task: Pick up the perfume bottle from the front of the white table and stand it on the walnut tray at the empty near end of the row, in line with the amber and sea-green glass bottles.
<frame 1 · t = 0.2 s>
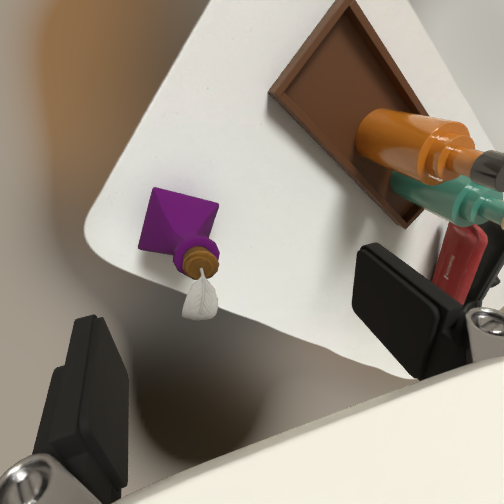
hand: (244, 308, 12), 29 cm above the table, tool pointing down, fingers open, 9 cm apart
perfume bottle: (175, 214, 40), on the table
hair straightener: (444, 288, 64), on the table
amber bottle: (376, 134, 42), resting on tray
sea-green bottle: (408, 174, 47), resting on tray
tray: (374, 134, 42), on the table
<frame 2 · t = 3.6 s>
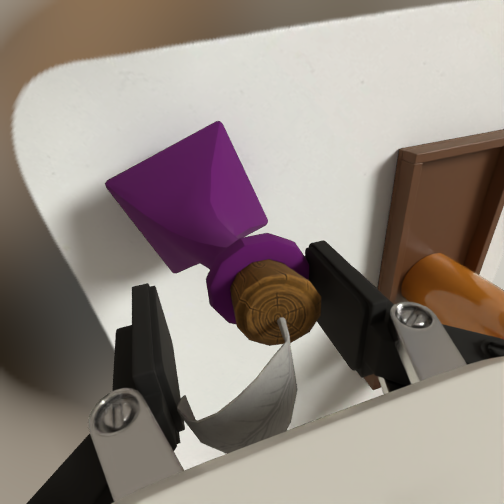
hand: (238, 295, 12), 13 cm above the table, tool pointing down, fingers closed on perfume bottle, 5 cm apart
perfume bottle: (188, 186, 23), on the table, touching gripper
amber bottle: (425, 278, 36), resting on tray
tray: (422, 275, 36), on the table
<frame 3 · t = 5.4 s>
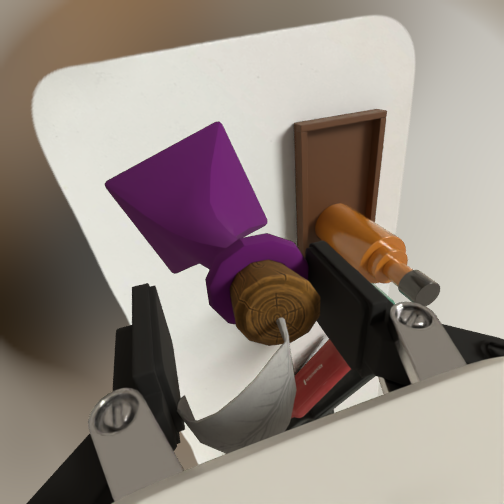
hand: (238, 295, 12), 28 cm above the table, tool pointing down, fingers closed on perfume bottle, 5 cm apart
perfume bottle: (188, 186, 23), point 15 cm above the table, touching gripper
hair straightener: (292, 396, 66), on the table
amber bottle: (334, 223, 47), resting on tray
tray: (332, 222, 48), on the table
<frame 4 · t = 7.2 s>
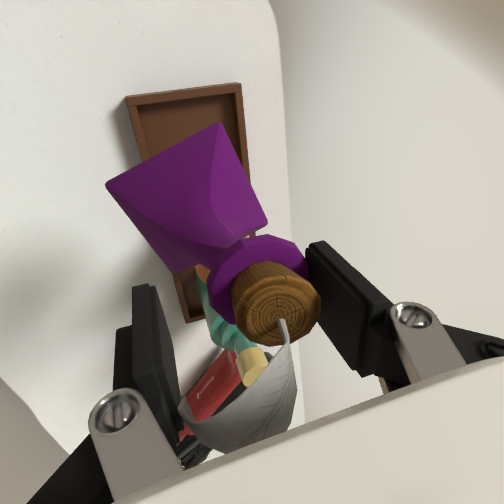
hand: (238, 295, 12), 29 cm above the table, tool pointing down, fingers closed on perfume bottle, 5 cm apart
perfume bottle: (188, 187, 23), point 16 cm above the table, touching gripper
hair straightener: (197, 409, 60), on the table
sea-green bottle: (217, 275, 46), resting on tray
tray: (206, 217, 42), on the table
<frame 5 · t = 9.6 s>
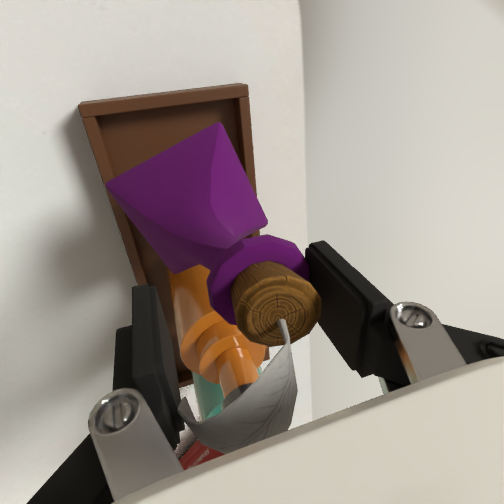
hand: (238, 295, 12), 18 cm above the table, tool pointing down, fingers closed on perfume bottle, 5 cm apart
perfume bottle: (188, 187, 23), point 5 cm above the table, touching gripper
hair straightener: (189, 474, 50), on the table
amber bottle: (199, 262, 31), resting on tray
sea-green bottle: (213, 329, 36), resting on tray
tray: (198, 259, 32), on the table
when the fingers open (13 cm above the table, at t = 11.1 s): perfume bottle stays where it is, resting on tray.
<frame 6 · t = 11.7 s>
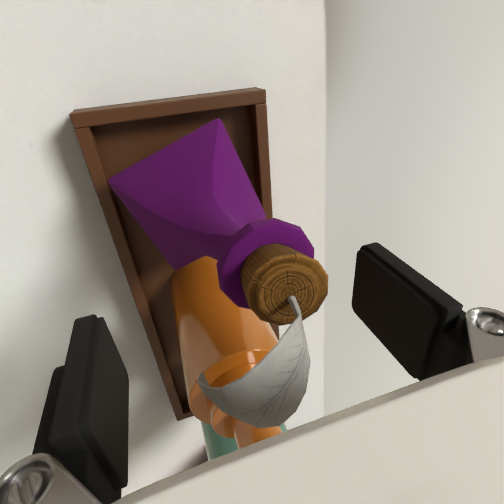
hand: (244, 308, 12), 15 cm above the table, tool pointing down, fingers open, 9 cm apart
perfume bottle: (187, 184, 24), resting on tray
amber bottle: (207, 285, 28), resting on tray
sea-green bottle: (221, 355, 33), resting on tray
tray: (206, 282, 29), on the table
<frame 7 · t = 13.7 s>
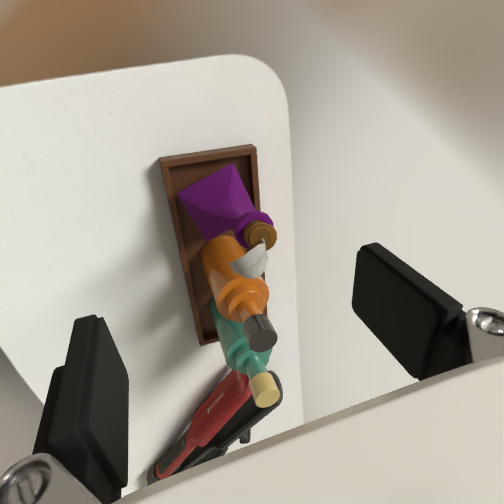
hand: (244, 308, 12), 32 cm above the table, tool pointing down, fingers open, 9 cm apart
perfume bottle: (213, 195, 43), resting on tray
hair straightener: (205, 422, 65), on the table
amber bottle: (222, 255, 47), resting on tray
sea-green bottle: (228, 303, 52), resting on tray
tray: (221, 253, 47), on the table
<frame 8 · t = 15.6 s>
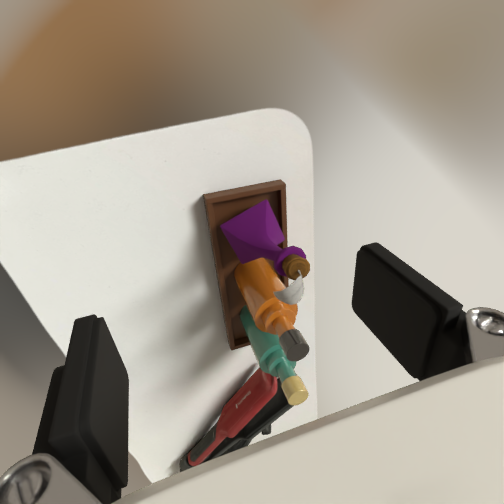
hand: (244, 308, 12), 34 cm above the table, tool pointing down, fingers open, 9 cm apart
perfume bottle: (246, 223, 49), resting on tray
hair straightener: (231, 415, 72), on the table
amber bottle: (252, 272, 54), resting on tray
sea-green bottle: (256, 313, 59), resting on tray
tray: (251, 271, 54), on the table
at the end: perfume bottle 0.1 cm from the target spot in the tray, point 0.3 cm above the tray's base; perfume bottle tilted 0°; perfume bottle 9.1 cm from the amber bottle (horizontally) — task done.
